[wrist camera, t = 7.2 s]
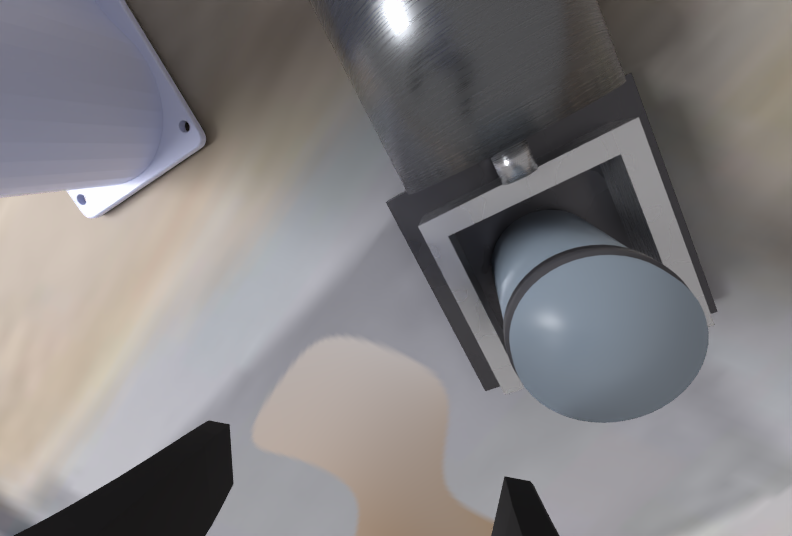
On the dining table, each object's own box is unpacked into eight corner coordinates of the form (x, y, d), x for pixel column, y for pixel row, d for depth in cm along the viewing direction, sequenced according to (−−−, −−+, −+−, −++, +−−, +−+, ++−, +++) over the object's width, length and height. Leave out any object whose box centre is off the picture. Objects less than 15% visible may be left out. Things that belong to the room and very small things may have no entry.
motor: (282, -4, 15) (147, -119, 9) (525, -188, 12) (598, -566, 6) (484, 381, 19) (497, 507, 12) (705, 303, 16) (875, 411, 10)
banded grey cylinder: (492, 316, 17) (512, 426, 10) (485, 214, 16) (501, 265, 9) (605, 309, 16) (703, 425, 10) (607, 200, 15) (723, 247, 8)
